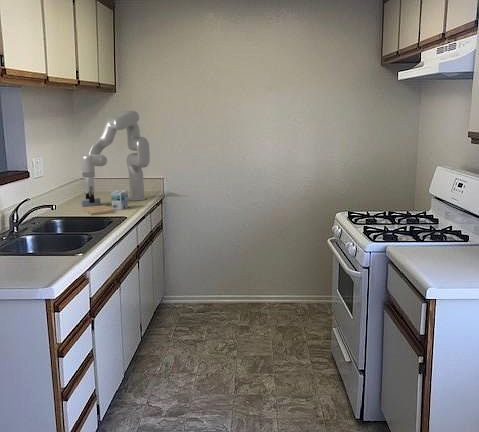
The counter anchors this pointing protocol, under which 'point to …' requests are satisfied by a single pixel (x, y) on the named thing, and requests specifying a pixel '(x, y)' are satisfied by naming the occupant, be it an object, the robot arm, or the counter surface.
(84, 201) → the sanding block
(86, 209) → the oak board
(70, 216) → the counter surface
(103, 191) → the counter surface
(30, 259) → the counter surface
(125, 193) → the light bulb box
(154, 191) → the counter surface
